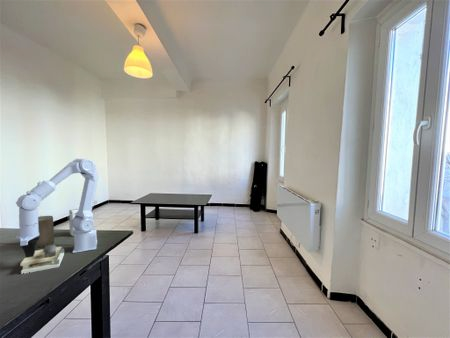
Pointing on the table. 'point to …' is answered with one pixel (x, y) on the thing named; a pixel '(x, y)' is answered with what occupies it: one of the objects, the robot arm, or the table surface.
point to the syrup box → (71, 217)
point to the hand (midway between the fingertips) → (30, 256)
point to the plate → (43, 255)
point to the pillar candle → (45, 231)
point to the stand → (43, 265)
